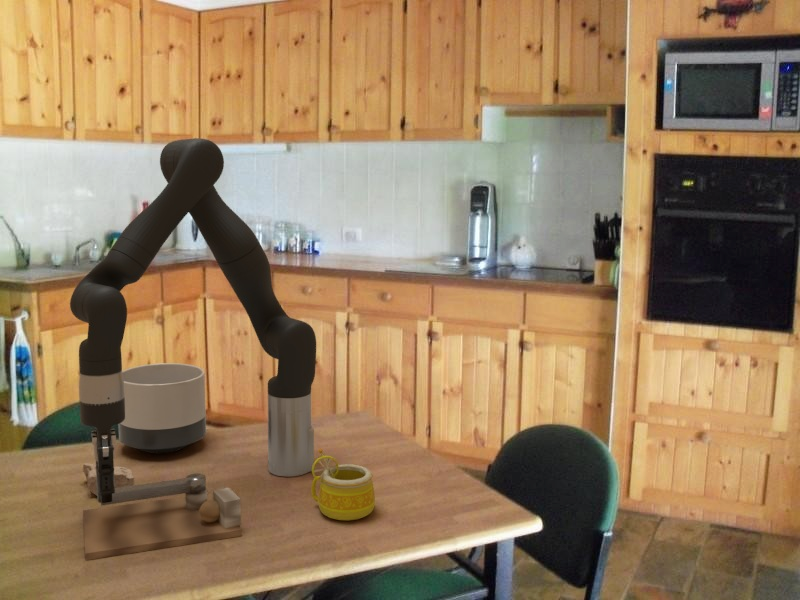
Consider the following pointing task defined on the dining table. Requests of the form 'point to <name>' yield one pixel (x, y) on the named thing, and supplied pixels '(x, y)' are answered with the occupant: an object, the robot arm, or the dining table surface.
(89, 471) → the stone
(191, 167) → the robot arm
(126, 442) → the planter
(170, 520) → the board
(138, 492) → the lever
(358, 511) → the mug
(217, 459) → the dining table surface
